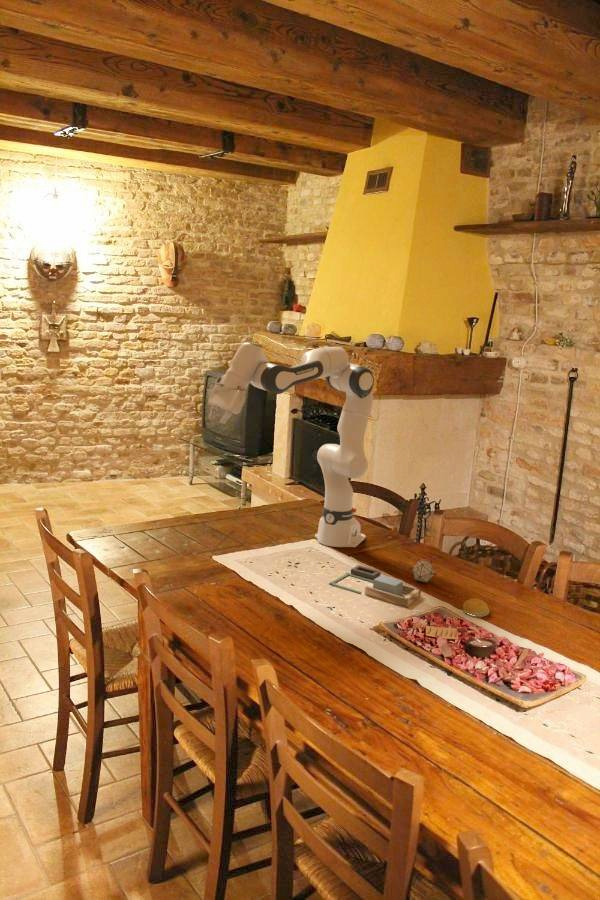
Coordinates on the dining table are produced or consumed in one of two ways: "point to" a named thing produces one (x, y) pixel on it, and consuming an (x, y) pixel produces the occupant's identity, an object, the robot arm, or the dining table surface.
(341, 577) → the frame
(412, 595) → the beige c-shaped frame
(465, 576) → the dining table surface
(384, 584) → the block
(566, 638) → the dining table surface
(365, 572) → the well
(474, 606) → the bread roll
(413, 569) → the game die
